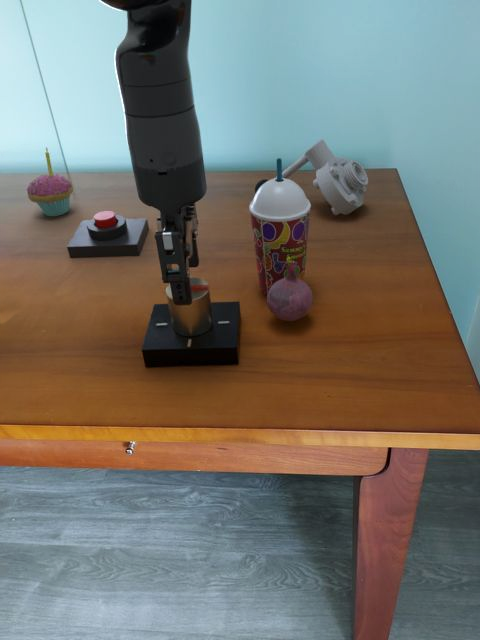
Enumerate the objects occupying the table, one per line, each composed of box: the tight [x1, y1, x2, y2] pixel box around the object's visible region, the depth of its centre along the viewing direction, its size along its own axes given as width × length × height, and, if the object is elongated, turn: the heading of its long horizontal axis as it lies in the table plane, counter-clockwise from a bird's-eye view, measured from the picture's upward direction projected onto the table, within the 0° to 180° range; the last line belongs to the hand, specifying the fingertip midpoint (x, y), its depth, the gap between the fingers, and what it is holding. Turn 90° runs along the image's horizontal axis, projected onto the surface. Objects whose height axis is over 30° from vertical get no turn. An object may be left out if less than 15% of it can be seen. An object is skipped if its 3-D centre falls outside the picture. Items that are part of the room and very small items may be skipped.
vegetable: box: [266, 257, 314, 322], centre depth 71 cm, size 6×6×10 cm
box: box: [66, 213, 150, 259], centre depth 93 cm, size 12×10×4 cm
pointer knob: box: [165, 277, 213, 336], centre depth 68 cm, size 5×5×6 cm
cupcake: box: [26, 146, 74, 217], centre depth 101 cm, size 9×8×12 cm
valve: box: [254, 138, 369, 216], centre depth 101 cm, size 10×20×15 cm
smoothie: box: [248, 157, 312, 297], centre depth 74 cm, size 8×8×20 cm
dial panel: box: [141, 300, 242, 368], centre depth 70 cm, size 12×10×3 cm
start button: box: [93, 210, 117, 228], centre depth 91 cm, size 4×4×2 cm
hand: (187, 284), depth 65 cm, fingers open, 8 cm apart
